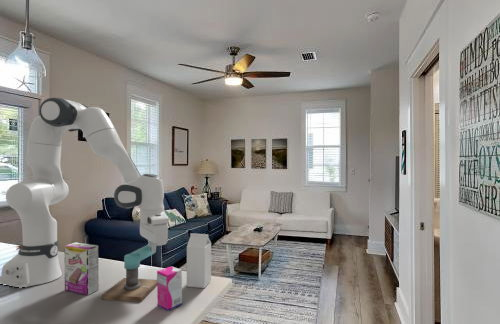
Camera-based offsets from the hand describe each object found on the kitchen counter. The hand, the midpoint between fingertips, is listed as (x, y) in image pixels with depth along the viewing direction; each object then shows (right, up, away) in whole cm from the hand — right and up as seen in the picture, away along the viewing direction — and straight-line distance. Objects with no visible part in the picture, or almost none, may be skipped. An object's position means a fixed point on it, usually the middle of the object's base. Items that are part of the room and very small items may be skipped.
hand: (152, 251), depth 115 cm
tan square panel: (-5, -12, -9) cm, 15 cm away
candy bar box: (-23, -12, -9) cm, 27 cm away
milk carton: (+18, -12, -2) cm, 22 cm away
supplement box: (+11, -12, -18) cm, 25 cm away
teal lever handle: (-3, -3, -3) cm, 5 cm away
